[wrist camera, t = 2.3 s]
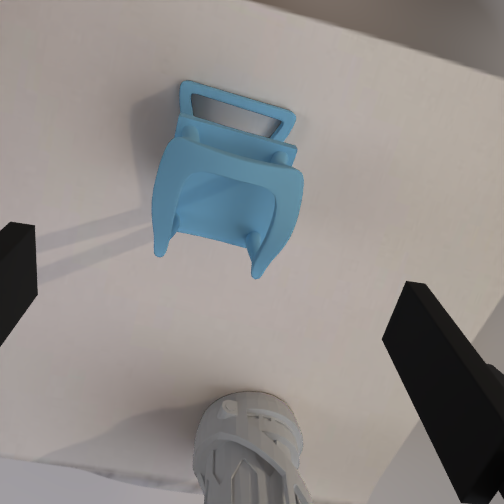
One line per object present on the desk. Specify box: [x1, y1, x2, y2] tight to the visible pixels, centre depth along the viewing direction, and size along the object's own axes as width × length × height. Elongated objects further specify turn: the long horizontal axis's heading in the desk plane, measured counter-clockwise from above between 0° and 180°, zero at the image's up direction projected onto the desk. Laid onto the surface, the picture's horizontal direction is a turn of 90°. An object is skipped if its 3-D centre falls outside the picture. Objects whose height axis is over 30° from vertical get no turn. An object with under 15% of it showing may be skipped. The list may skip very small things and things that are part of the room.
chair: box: [152, 80, 304, 279], centre depth 25 cm, size 8×8×12 cm
